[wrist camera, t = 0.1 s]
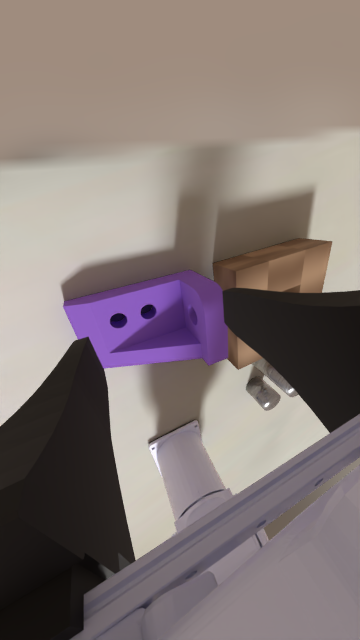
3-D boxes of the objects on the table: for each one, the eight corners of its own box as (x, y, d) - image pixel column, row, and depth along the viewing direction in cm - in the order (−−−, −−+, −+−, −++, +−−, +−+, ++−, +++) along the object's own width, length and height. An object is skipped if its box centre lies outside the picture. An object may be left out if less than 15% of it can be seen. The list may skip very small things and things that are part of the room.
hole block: (288, 322, 31) (313, 335, 27) (219, 351, 27) (238, 369, 24) (299, 238, 25) (332, 241, 21) (212, 263, 21) (236, 271, 18)
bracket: (188, 269, 21) (227, 287, 15) (194, 325, 24) (228, 357, 19) (64, 300, 18) (55, 338, 12) (91, 360, 21) (93, 412, 15)
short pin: (261, 387, 35) (279, 404, 32) (246, 394, 34) (263, 413, 31) (262, 373, 34) (281, 390, 30) (246, 381, 33) (264, 399, 30)
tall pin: (263, 356, 32) (306, 390, 26) (246, 364, 31) (286, 401, 25) (264, 340, 30) (310, 371, 24) (246, 347, 29) (289, 382, 23)
